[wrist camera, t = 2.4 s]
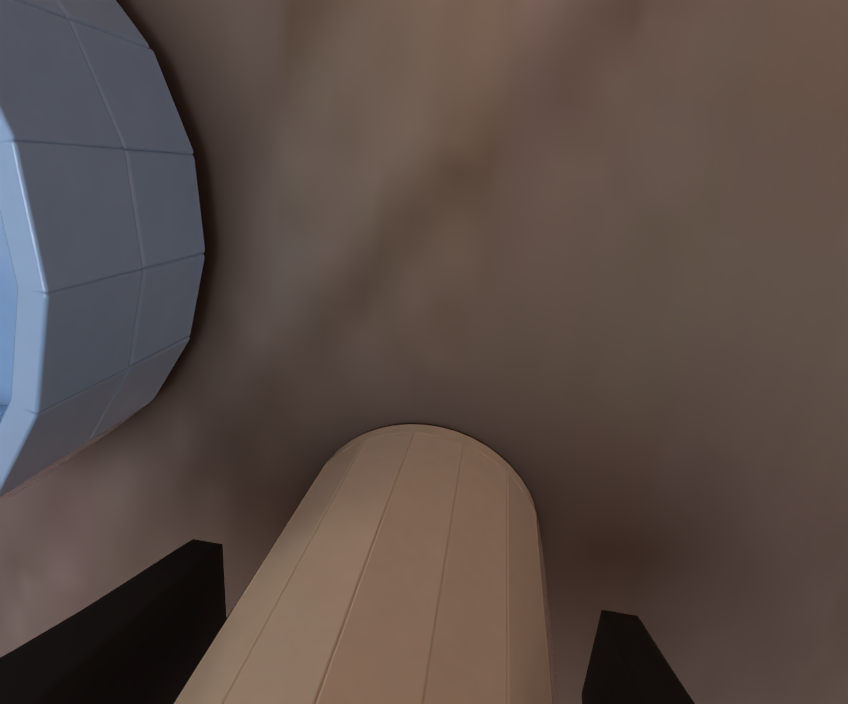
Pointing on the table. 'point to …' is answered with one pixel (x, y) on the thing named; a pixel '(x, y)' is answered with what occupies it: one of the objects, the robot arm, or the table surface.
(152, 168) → the bowl
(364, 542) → the cup
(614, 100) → the table surface
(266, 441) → the table surface
